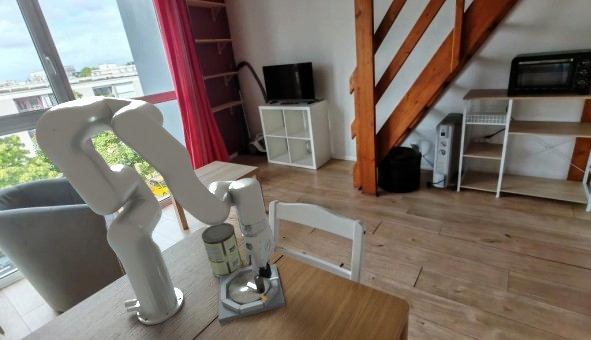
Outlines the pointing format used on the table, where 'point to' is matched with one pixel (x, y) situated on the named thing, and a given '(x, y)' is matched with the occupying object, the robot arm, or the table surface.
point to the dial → (248, 288)
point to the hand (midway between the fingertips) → (266, 276)
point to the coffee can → (222, 249)
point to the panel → (234, 310)
